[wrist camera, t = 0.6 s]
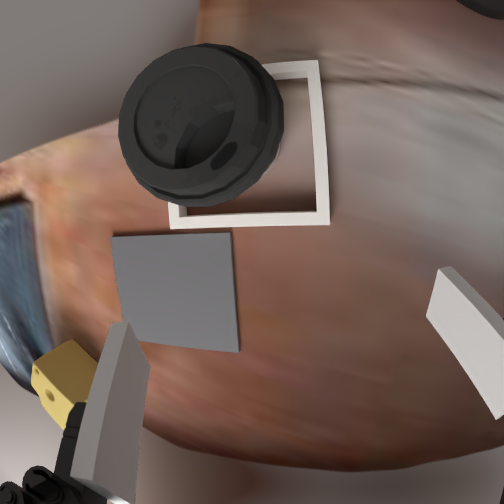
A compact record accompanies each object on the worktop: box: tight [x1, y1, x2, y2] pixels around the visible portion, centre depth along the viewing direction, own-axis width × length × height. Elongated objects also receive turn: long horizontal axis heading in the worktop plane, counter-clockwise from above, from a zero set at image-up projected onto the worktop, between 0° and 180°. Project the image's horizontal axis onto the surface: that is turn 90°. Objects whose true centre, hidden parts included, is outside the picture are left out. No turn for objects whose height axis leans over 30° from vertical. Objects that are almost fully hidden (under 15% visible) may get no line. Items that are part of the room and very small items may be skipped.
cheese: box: [31, 339, 98, 430], centre depth 39 cm, size 10×11×10 cm
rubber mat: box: [110, 232, 240, 353], centre depth 35 cm, size 16×14×1 cm
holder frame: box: [168, 60, 330, 229], centre depth 29 cm, size 16×16×2 cm
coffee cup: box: [118, 43, 284, 207], centre depth 23 cm, size 11×11×15 cm
